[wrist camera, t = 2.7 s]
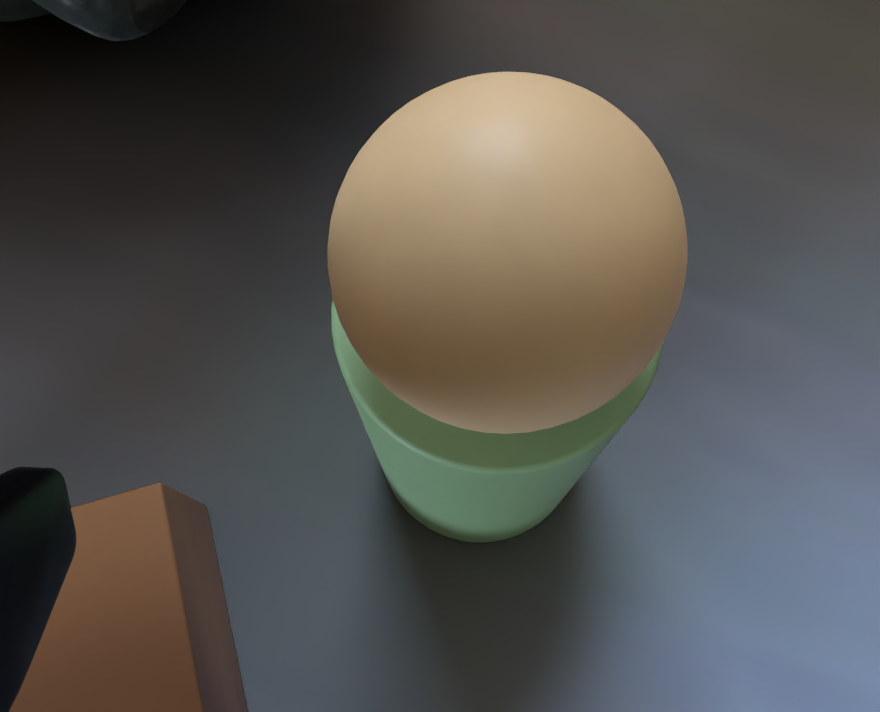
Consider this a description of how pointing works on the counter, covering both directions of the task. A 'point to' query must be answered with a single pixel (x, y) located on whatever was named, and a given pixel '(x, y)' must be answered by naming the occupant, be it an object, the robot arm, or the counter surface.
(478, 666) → the counter surface
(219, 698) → the walnut block
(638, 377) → the peg doll
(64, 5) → the squash
